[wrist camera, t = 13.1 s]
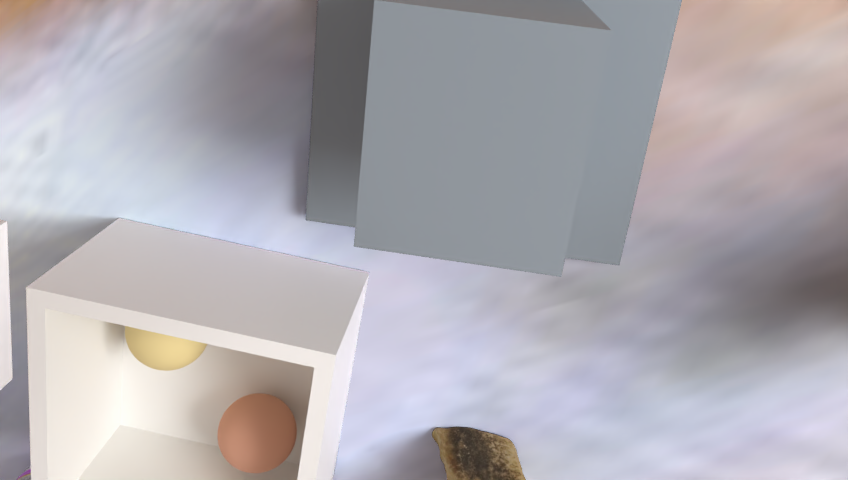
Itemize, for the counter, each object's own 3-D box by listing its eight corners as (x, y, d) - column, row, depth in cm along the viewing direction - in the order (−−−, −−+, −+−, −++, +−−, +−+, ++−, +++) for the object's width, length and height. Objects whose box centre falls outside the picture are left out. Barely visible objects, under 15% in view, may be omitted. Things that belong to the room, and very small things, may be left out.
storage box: (369, 272, 38) (336, 355, 31) (333, 473, 43) (297, 586, 36) (118, 218, 38) (26, 287, 31) (113, 424, 43) (32, 526, 36)
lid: (693, -80, 31) (787, -83, 20) (615, 255, 37) (657, 383, 26) (331, -124, 31) (244, -149, 21) (311, 211, 37) (236, 319, 27)
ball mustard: (225, 284, 38) (195, 322, 34) (219, 351, 40) (189, 394, 36) (148, 267, 38) (110, 304, 35) (145, 335, 40) (108, 376, 36)
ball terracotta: (309, 387, 40) (289, 434, 36) (300, 447, 42) (280, 497, 38) (236, 371, 40) (208, 416, 36) (229, 431, 42) (202, 480, 38)
